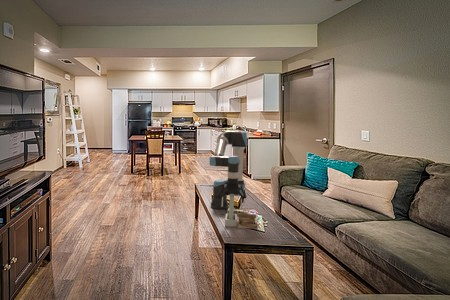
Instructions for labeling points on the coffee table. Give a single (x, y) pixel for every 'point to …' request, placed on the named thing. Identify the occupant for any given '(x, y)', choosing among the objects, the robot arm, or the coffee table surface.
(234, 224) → the bin
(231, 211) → the grey-green flat block
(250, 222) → the offcut walnut
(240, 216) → the rack
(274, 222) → the coffee table surface
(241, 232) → the coffee table surface
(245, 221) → the offcut oak
